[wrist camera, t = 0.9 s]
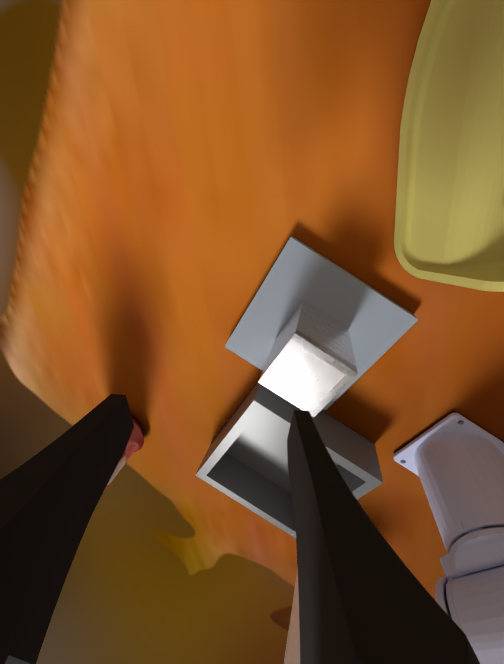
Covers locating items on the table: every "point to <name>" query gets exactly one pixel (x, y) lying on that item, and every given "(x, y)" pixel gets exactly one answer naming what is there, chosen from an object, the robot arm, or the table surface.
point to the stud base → (328, 297)
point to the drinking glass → (294, 631)
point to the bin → (279, 457)
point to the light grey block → (310, 360)
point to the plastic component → (454, 149)
